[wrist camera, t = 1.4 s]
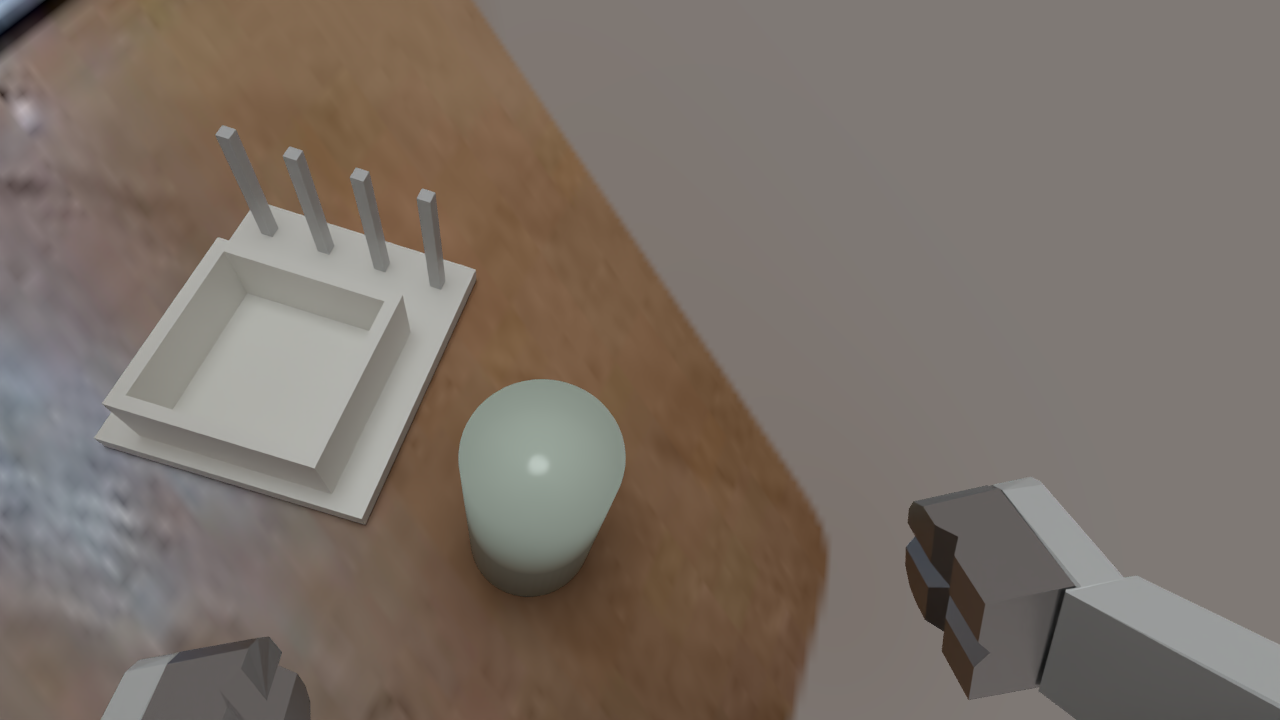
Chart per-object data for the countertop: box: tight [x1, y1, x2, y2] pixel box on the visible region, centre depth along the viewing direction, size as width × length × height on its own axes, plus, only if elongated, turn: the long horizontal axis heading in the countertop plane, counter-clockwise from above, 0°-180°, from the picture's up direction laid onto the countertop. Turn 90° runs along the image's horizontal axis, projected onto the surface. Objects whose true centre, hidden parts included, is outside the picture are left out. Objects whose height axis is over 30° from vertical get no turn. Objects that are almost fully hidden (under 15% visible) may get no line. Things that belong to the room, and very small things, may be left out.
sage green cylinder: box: [459, 379, 625, 597], centre depth 29 cm, size 6×6×11 cm
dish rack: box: [94, 125, 476, 525], centre depth 33 cm, size 14×12×8 cm
